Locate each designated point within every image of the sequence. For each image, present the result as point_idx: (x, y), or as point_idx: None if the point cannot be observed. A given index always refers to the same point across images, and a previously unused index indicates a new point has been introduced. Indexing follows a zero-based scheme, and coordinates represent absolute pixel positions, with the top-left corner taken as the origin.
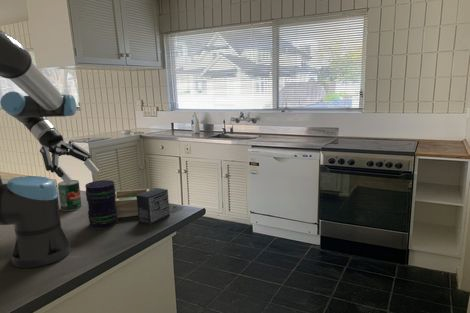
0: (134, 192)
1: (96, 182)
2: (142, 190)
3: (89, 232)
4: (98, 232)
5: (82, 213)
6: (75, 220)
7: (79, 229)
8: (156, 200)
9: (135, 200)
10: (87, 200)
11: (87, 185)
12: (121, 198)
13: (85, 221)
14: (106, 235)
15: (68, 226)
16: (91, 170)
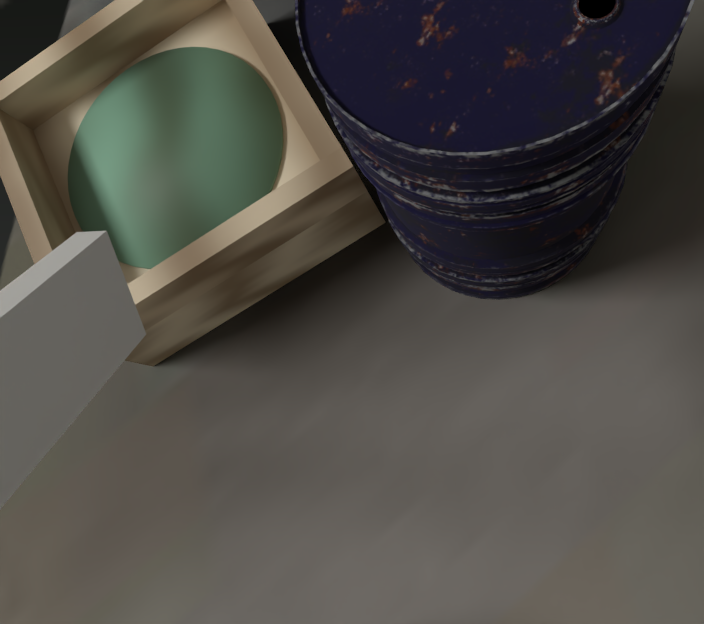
0: (42, 194)
1: (415, 89)
2: (10, 136)
3: (686, 176)
4: (661, 114)
5: (350, 537)
6: (508, 476)
7: (664, 294)
8: None
9: (258, 10)
10: (632, 148)
11: (601, 82)
12: (141, 263)
13: (502, 373)
14: (687, 25)
15: (643, 434)
16: (85, 375)
